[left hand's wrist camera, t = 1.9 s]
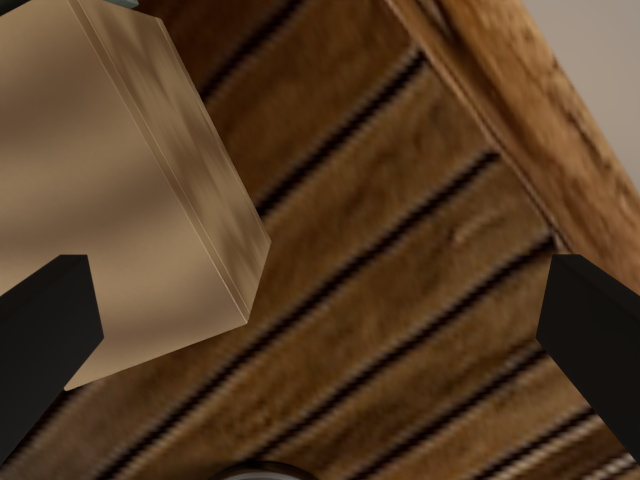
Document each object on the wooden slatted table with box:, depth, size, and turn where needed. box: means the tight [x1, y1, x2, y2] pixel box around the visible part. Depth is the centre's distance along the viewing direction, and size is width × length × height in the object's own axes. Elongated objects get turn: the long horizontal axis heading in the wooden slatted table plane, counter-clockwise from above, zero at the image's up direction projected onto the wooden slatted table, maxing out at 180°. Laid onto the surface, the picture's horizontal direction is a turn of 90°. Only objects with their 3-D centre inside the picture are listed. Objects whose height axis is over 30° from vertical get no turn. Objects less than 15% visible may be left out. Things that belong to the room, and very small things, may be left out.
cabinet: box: [0, 0, 271, 391], centre depth 27 cm, size 17×12×12 cm
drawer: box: [0, 0, 139, 16], centre depth 25 cm, size 21×10×10 cm, turn 23°
